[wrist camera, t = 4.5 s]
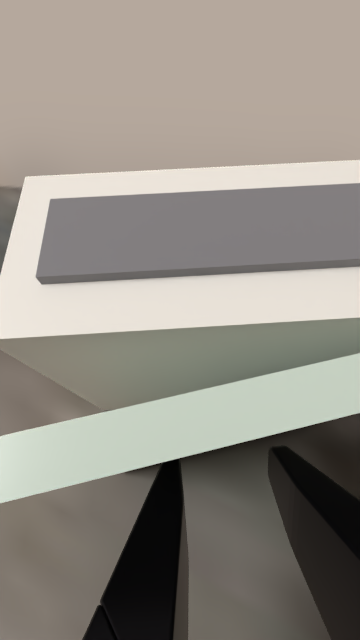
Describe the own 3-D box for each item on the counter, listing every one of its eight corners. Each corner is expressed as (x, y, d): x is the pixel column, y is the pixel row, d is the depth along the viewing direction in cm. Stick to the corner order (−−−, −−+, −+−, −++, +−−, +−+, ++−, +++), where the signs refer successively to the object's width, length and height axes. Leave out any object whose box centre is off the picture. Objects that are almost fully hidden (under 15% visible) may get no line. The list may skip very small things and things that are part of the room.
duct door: (315, 424, 14) (540, 366, 5) (116, 473, 13) (-19, 507, 4) (307, 403, 15) (503, 320, 6) (114, 450, 14) (-15, 439, 5)
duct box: (311, 397, 15) (513, 302, 6) (103, 410, 15) (-26, 334, 6) (289, 313, 17) (413, 147, 8) (108, 324, 17) (19, 166, 8)
